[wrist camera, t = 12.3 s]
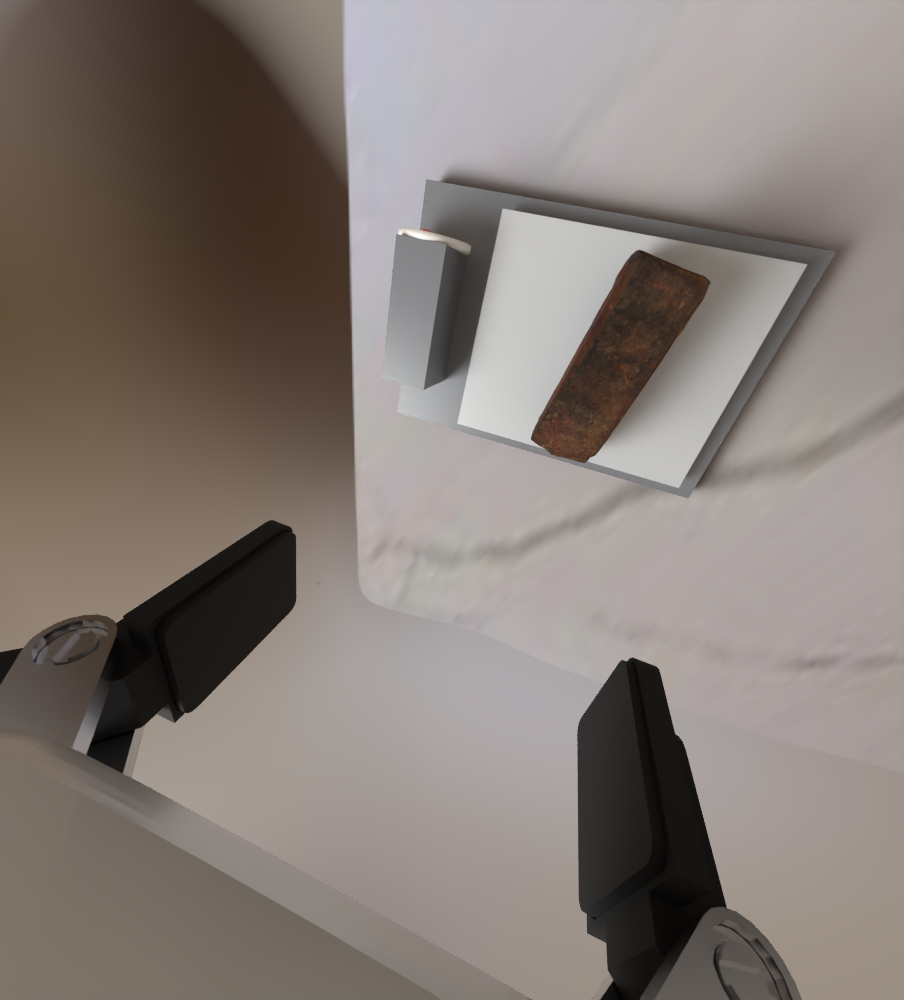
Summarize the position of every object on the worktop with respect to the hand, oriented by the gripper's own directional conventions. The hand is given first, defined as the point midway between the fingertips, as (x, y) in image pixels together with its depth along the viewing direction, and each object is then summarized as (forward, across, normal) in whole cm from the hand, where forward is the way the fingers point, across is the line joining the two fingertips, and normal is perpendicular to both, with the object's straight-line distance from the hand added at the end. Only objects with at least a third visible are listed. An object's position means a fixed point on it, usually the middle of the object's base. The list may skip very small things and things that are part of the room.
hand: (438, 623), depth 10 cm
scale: (+22, -1, -6) cm, 23 cm away
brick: (+19, -3, -6) cm, 20 cm away
